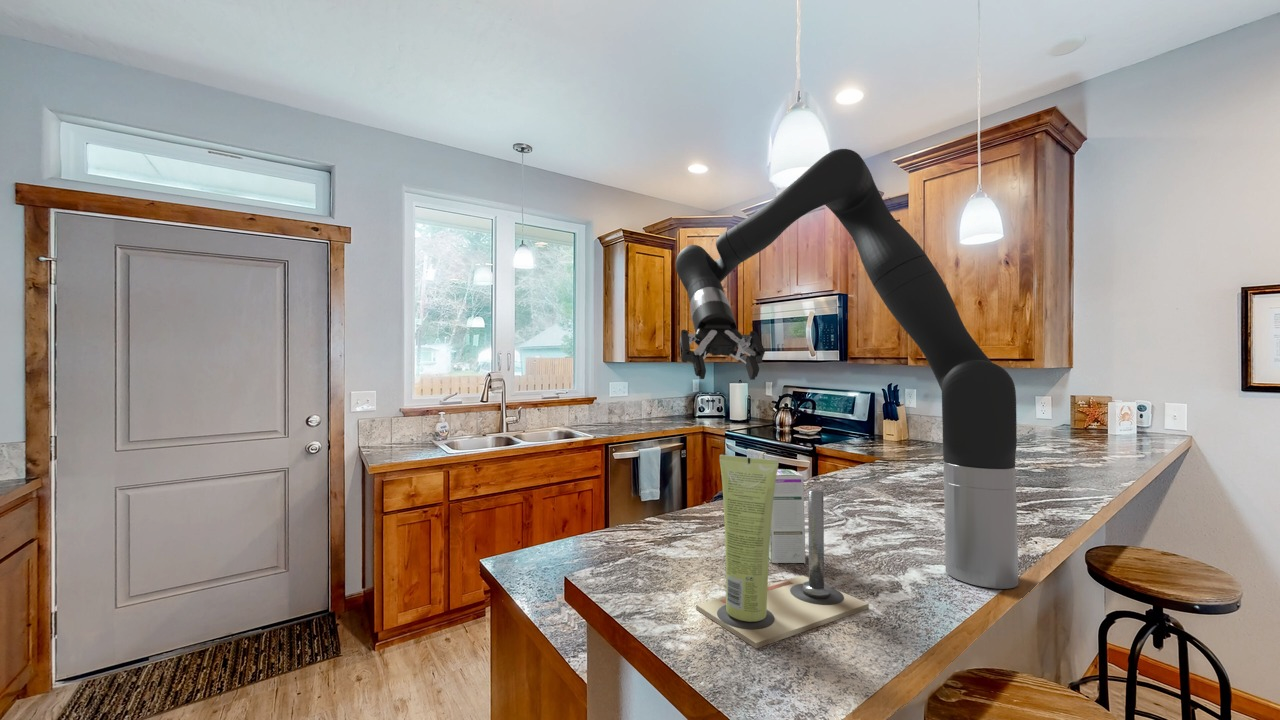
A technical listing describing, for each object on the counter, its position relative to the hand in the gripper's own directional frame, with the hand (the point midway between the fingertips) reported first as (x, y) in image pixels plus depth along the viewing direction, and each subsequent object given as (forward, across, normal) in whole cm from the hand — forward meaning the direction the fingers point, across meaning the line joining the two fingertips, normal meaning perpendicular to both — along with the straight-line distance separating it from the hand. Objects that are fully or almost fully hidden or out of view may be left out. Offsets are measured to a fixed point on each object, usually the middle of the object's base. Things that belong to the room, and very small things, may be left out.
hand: (728, 375), depth 82 cm
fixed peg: (+31, +9, +13) cm, 34 cm away
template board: (+33, +3, +11) cm, 34 cm away
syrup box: (+20, +10, +24) cm, 33 cm away
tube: (+34, -3, +9) cm, 35 cm away
